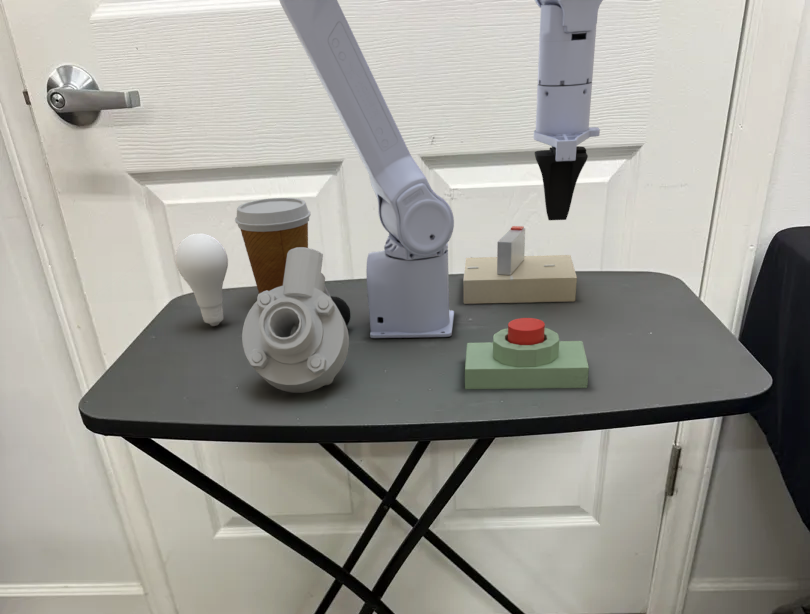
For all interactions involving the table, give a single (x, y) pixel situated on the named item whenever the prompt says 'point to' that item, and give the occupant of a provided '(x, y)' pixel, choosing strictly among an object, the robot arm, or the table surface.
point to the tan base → (520, 280)
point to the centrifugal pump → (298, 328)
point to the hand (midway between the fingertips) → (556, 218)
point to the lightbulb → (204, 273)
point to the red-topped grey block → (511, 250)
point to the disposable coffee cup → (272, 236)
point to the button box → (526, 364)
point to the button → (526, 331)
